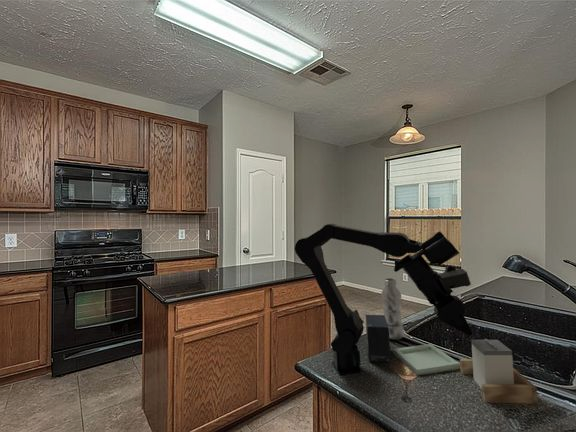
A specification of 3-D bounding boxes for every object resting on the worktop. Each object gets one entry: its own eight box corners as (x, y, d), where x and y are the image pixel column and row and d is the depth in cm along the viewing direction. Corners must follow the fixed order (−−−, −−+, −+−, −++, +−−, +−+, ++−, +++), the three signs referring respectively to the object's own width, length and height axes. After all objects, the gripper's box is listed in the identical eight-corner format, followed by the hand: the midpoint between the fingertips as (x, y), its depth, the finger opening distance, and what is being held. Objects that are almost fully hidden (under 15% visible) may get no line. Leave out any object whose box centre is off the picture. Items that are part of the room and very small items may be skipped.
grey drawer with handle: (486, 393, 69) (483, 348, 69) (473, 379, 75) (471, 337, 75) (514, 394, 68) (511, 348, 68) (499, 379, 74) (497, 337, 74)
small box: (392, 363, 85) (389, 326, 85) (368, 362, 86) (366, 326, 86) (387, 346, 95) (385, 314, 95) (366, 346, 96) (364, 314, 96)
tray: (417, 375, 78) (417, 369, 78) (393, 354, 90) (393, 349, 90) (459, 368, 80) (459, 363, 80) (430, 348, 92) (430, 343, 92)
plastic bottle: (398, 344, 96) (395, 282, 96) (379, 338, 101) (376, 280, 101) (407, 337, 101) (404, 278, 101) (389, 332, 106) (386, 276, 106)
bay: (485, 402, 66) (484, 386, 66) (460, 372, 78) (459, 358, 78) (537, 403, 64) (536, 387, 64) (504, 372, 77) (503, 359, 77)
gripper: (462, 264, 64) (512, 324, 62) (441, 250, 82) (480, 297, 80) (418, 293, 67) (465, 351, 65) (407, 273, 85) (444, 319, 83)
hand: (464, 326), depth 73 cm, fingers open, 9 cm apart
